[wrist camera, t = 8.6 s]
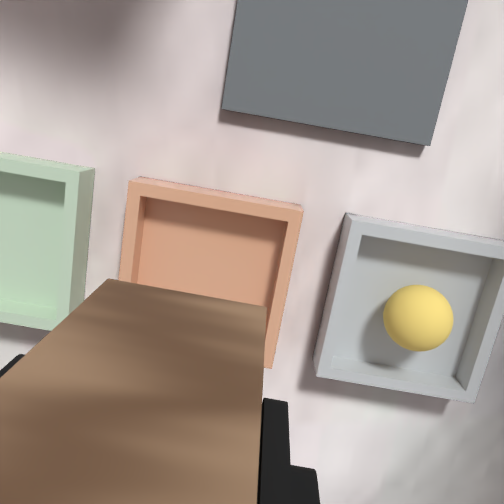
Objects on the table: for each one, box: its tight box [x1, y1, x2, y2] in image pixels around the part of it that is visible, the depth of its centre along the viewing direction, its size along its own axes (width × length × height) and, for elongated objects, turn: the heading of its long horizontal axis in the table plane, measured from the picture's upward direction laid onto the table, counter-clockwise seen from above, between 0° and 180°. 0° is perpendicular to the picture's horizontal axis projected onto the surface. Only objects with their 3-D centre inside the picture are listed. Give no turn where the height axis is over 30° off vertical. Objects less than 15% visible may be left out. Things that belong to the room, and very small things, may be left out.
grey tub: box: [313, 213, 504, 404], centre depth 24 cm, size 8×8×2 cm
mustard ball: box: [383, 285, 454, 352], centre depth 23 cm, size 3×3×3 cm
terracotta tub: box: [119, 177, 304, 369], centre depth 24 cm, size 8×8×2 cm
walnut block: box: [0, 279, 267, 504], centre depth 9 cm, size 4×4×10 cm
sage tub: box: [0, 152, 95, 331], centre depth 24 cm, size 8×8×2 cm
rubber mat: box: [222, 0, 468, 146], centre depth 21 cm, size 10×10×1 cm
